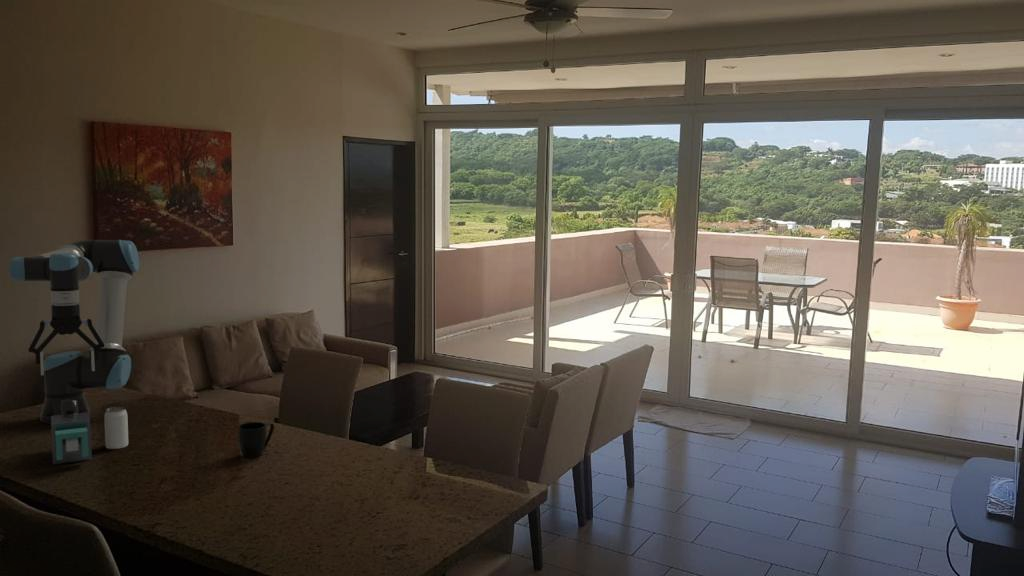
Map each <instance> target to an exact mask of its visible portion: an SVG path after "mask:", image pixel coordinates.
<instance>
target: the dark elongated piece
mask: <svg viewBox="0 0 1024 576" xmlns="http://www.w3.org/2000/svg"><path fill="white" fill-rule="evenodd" d="M61 410H62V415H65V414H74V413H78V401H77V399H65V400H62V401H61ZM77 450H78V437H76V438H67V439H66V452H69V451H77Z"/></svg>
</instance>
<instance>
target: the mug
mask: <svg viewBox="0 0 1024 576" xmlns="http://www.w3.org/2000/svg"><path fill="white" fill-rule="evenodd" d="M269 425H270V427H269V431H268V434H267V427H268V426H269ZM274 428H275V425H274V423H273V422H272V421H271V422H266V423H265V422H261V421H252V422H251V421H250V422H245V423H240V424H239V425H237V437H238V439H237V440H238V445H239V448H240V451H241V453H242V454H241V455H242V458H243V459H251V460H254V459H258V458H260V456H261V457H262V456H263V452H264V450H265V449H266V448H267V447H268V444H269V442H270V440H271V438H272V435H273V434H274V433H273V432H274V430H275V429H274Z"/></svg>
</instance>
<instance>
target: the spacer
mask: <svg viewBox="0 0 1024 576" xmlns="http://www.w3.org/2000/svg"><path fill="white" fill-rule="evenodd" d="M55 435H56V458H57V460H62V459H63V456H62V439H67V438H76V437H81V440H82V457H86V456H88V434H87V427H86V428H78V429H69V430H60V431H55Z"/></svg>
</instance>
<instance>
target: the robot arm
mask: <svg viewBox="0 0 1024 576" xmlns="http://www.w3.org/2000/svg"><path fill="white" fill-rule="evenodd" d="M139 268H140V258H139V253H138V249H137V246H136V245H135V243H134V242H132V241H131V240H122V239H110V240H109V239H85V240H79V241H75V242H71V243H66V244H63V245H61V246H60V247H58V248H57V249H56V250H53V251H49V252H45V253H41V254H37V255H33V256H16V257H15V256H14V257H13V258H11V260H10V261H9V265H8V270H9V271H8V272H9V273H8V274H9V276H10V278H11V279H12V280H13V281H17V282H49V283H50V284H49V285H50V303H51V306H50V307H51V308H50V311H51V320H50V321H49V320H43V319H42V320H40V322H39V328H38V330H37V332H36V334H35V336H34V338H33V339H32V341H31V343H30V345H29V347H28V349H27V350H28V353H33V354H34V355H35V363H36V365H40V376H43V378H44V394H45V395H44V396H45V399H44V401H43V405H42V407H41V408H42V409H41V412H40V414H39V418H40V422H41V423H42V424H46V425H51V416H55V415H62V410H61V401H62V400H65V399H77V401H78V413H84V412H89V416H90V417H91V410H90V407H89V405H88V403H87V401H86V400H87V399H86V396H85V395H84V390H94V389H95V390H96V389H97V390H98V389H99V390H100V389H107V390H112V389H121V388H123V387H125V385H126V384H127V382H128V380H129V378H130V374H131V371H132V358H131V356H130V355H128V354H127V350H126V349H125V348H124V347H123V338H124V337H123V336H124V324H125V313H126V301H127V291H128V290H127V288H128V282H129V281H131V280H132V279H133V274H134V273H137V272H139ZM92 273H96V276H97V278H99V280H100V286H99V294H98V295H99V297H98V306H97V307H98V308H97V317H96V319H97V320H96V328H95V326H93V322H92V318H91V317H88V318H86V319H82V318H81V313H80V312H81V310H80V304H79V302H80V286H79V285H80V284H79V282H82V281H85V280H87V279H88V278H90V276H92ZM82 324H83V325H84V326H86V327H88V329H89V331H90V332H91V334H92V335H93V337H94V338H95V340H94V341H95V342H94V341H93V340H92V339H91V338H90V337H89V336H88V335H86V333H84V332H83V330H81V329H80V327H81V325H82ZM48 326H50V327H51V328H52V331H50V333H49V334H48V336H47V337H46V338H45V339H44V340H42V342H41V343H40V345H39V346H37V345H38V343H39V340H40V338H41V337H42V335H43V333H44V331H45V329H48ZM58 334H59V335H61V336H62V335H63V336H64V335H73V334H76V335H78V336H79V337H80V338H81V339H82V340H84V341H85V342H86V343H87V345H89V346H90V347H91V348H89V353H88V355H84V354H83V351H81V350H71V351H63V352H59V353H58V352H57V353H55V354H51V355H48V356H46V357H45V359H44V352H43V350H44V349H45V348H46V347H47V345H49V343H50V342H51V341H52V340H53V339H54V338H55V337H56V336H57V335H58ZM36 346H37V348H36Z"/></svg>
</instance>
